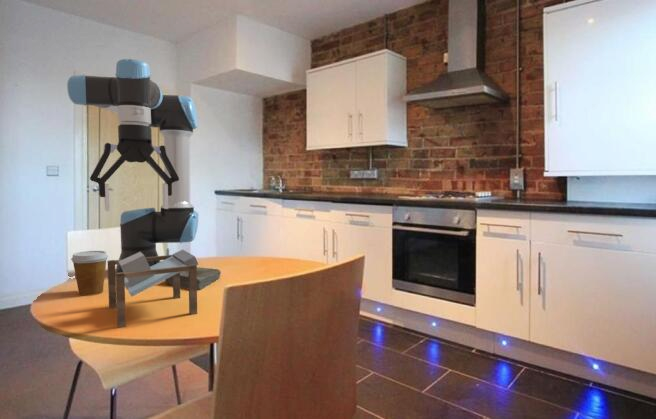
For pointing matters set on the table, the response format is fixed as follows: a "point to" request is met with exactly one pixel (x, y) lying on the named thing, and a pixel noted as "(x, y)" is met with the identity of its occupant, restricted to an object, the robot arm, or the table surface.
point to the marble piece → (203, 278)
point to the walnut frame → (118, 283)
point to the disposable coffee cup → (90, 271)
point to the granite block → (135, 267)
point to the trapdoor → (174, 261)
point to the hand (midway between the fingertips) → (137, 209)
